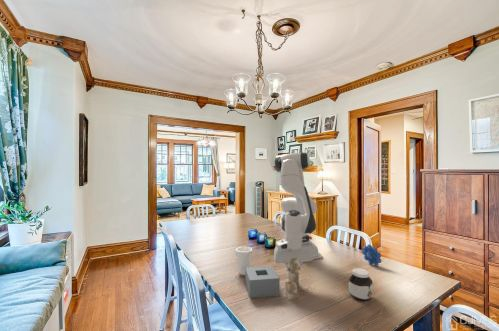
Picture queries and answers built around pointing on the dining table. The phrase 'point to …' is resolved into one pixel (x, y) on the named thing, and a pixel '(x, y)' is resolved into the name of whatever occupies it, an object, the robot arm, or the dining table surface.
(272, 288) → the hole block
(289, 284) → the short pin
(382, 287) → the dining table surface
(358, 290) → the spread jar
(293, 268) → the long pin
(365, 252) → the grapes
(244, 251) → the foam cup
